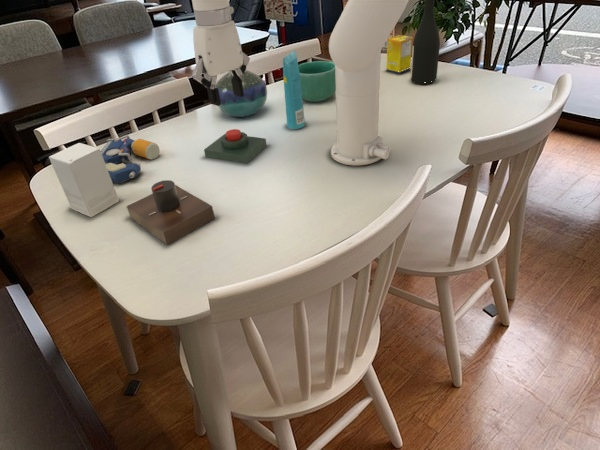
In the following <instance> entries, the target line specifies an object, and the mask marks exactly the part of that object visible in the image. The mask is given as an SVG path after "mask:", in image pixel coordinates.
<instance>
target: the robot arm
mask: <svg viewBox="0 0 600 450" xmlns="http://www.w3.org/2000/svg"><path fill="white" fill-rule="evenodd" d="M409 1H410V0H347V2H346V4H345V6H344V8H343V10H342V12H341V14H340V16H339V18H338V20H337V21H336V23H335V25H334V28H333V30H332V32H331V34H330V37H329V40H328V53H329V55H330V59H331V60H332V61H331V62H334V64H335V82H336V90H335V116H336V119H335V120H336V143H334V144H333V145H332V147H331V148H330V156H331V158H332V159H333V160H334V161H335V162H338V163H340V164H342V165H347V166H366V165H370V164H373V163H376V162H379V161H380V160H382V159H383V160H388V158H389V157H390V152H391V149H392V148H391V146H389V145H384V144H383V137H382V136H379V117H380V90H381V89H380V87H381V59H382V57H381V56H382V49H383V47H384V45H385V44H386V42H387V39H388V38H390V35H391V34H392V32H393V30H394V28H395V27H396V25H397V23H398V22H399V20H400V18H401V17H402V15H403V13H404V11H405V9H406V7H407V5H408V3H409ZM191 3H192V9H193V14H194V20H195V25H196V26H193V31H192V33H193V38H192V40H193V51H194V58H195V59H194V60H195V64H196V65H195V68H194V69H193V72H192V73H191V78H193V80H195V81H197V82H198V83H199V84H201V85H202V86H203V87H204V88H206V90H207V91H206V92H207V95H208V100H209V102H210V104H211V105H213V106H216V107H218V106H220V105H221V102H220V96H219V91H218V88H215V87H216V83H217V78H218V76H219V75H222V74H226V73H228V72H229V71H230V72H231V74H232V76H233V78H231V82H232V88H233V94H234V95H236V96H240V97H243V96H244V93H243V84H242V79H243V78H244V75H243V74H244V72H245V70H247V66H248V65H249V63H250V60H251V58H250V57H249V56H248V55H247V54H246V53H245V52H243V50H242V44H241V39H240V36H239V32H238V29H237V26H236V23H235V21H234V20H232V19H233V18H232V14H234V13H235V8H234V7H233V6H230V1H229V0H191ZM202 74H204V76H202Z"/></svg>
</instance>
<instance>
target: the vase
mask: <svg viewBox="0 0 600 450" xmlns="http://www.w3.org/2000/svg"><path fill="white" fill-rule="evenodd" d="M243 75H244V78H243V79H242V84H243V93H244V96H243V97H240V96H236V95H234V94H233V88H232V82H231V78H233V76H232V74H231V72H230V71H228V72H226V73H224V75H223V76H221V77H220V78H219V79H218V80H217V81H216V87H215V88H218V91H219V96H220V102H221V105H220V106H217V107H218V108H219V109H220V111H222V112H223V113H224V114H226V115H228V116H231V117H234V118H243V117H246V118H247V117H250V116H252V115H255V114H257V113H258V112H259V111H261V110H262V109H263V107H264V106H265V104H266V101H267V98H268V87H267V84H266V82H265V81H264V79H263V78H262V77H261V76H260V75H258V74H257V73H254V72H253V71H250V70H247V69H246V70H245V72H244V74H243Z"/></svg>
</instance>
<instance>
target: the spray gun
mask: <svg viewBox="0 0 600 450" xmlns="http://www.w3.org/2000/svg"><path fill="white" fill-rule="evenodd" d="M100 151H101V153H102V156H103V159H104V162H105V164H106V167H107V170H108V172H109V175H110V178H111V180H112V183H116V184H121V183H124V182H126V181H129V180H132V179H135V178H137V177H138V175H139V174H140V172H141V164H140V163H139V162H137V163H136V162H134V163H133V160H132V155H131V151H132V152H133V154H134V155H135V156H139V157H142V158H145V159H148V160H151V161H152V160H156V159H157V158H158V157H159V155H160V147H159V144H157V143H155V142H153V141H149V140H145V139H142V138H138V139H136V140H135V139H132V138H131V137H130V135H128V134H126V135H123V136H121V137H115V138H114V137H113V138H108V139H106V144H105V145H104V146H103V148H102V149H100Z"/></svg>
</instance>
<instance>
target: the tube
mask: <svg viewBox="0 0 600 450" xmlns="http://www.w3.org/2000/svg"><path fill="white" fill-rule="evenodd" d="M298 61H299V60H298V55H297V51H296V50H295V49H294V50H293V51H291V52H290V53H288V54H287V55H285V56H284V57H283V58H282V74H283V89H284V90H283V91H284V101H285V113H286V126H287V128H288V129H289V130H300V129H302V128H304V127H305V126H306V121H305V112H304V103H303V98H302V92H301V84H300V75H299V67H298V65H299V62H298Z"/></svg>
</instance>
